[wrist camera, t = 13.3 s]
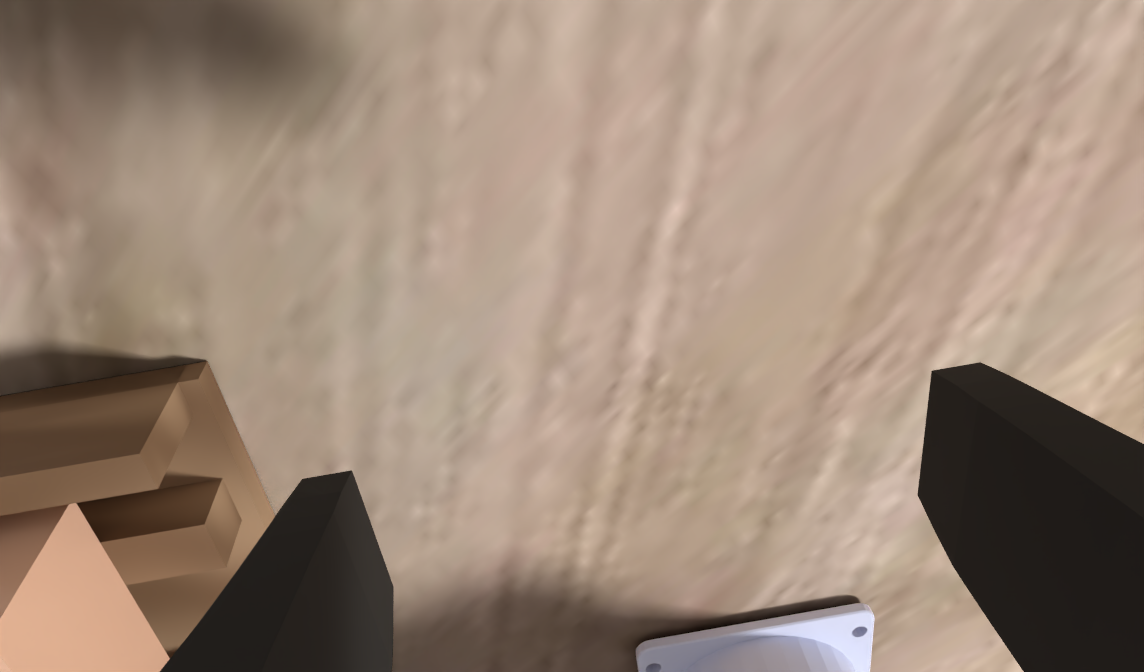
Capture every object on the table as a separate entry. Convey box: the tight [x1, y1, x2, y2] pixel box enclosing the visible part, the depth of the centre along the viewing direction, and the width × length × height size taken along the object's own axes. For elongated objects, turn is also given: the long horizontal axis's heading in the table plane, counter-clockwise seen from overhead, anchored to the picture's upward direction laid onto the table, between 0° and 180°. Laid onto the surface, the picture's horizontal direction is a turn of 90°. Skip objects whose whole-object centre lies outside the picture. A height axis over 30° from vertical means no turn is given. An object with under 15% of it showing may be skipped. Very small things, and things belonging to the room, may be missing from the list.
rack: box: [0, 361, 275, 658], centre depth 23 cm, size 14×9×4 cm, turn 8°
